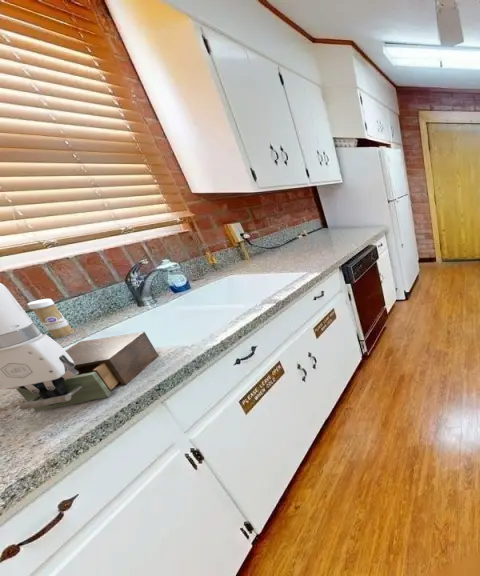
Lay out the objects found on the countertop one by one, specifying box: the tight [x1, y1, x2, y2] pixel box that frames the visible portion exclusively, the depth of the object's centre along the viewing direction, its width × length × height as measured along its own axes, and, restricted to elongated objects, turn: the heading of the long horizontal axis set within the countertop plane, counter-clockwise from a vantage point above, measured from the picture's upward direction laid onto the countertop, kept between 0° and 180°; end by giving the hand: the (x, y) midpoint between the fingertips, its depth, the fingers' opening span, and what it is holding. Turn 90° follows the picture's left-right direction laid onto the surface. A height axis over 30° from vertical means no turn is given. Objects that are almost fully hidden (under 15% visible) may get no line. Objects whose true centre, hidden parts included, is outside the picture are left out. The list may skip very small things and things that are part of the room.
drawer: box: [16, 362, 120, 412], centre depth 76 cm, size 18×12×7 cm
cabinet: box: [65, 331, 159, 388], centre depth 83 cm, size 15×14×9 cm
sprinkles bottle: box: [27, 298, 76, 339], centre depth 101 cm, size 5×5×14 cm
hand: (60, 400), depth 71 cm, fingers closed
